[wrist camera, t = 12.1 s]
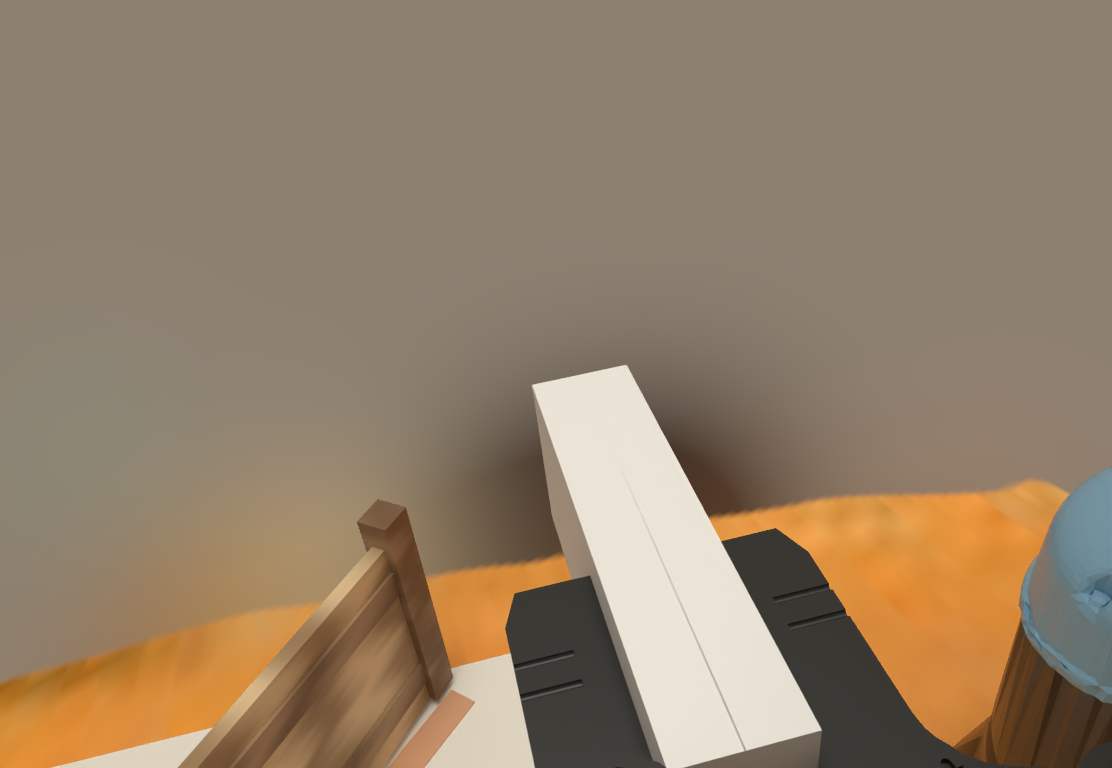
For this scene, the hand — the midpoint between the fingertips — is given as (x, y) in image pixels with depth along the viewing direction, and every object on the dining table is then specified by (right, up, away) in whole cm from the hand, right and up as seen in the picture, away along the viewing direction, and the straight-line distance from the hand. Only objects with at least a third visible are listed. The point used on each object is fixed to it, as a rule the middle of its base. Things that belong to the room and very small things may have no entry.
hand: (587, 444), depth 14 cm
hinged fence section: (-12, -22, +32) cm, 41 cm away
